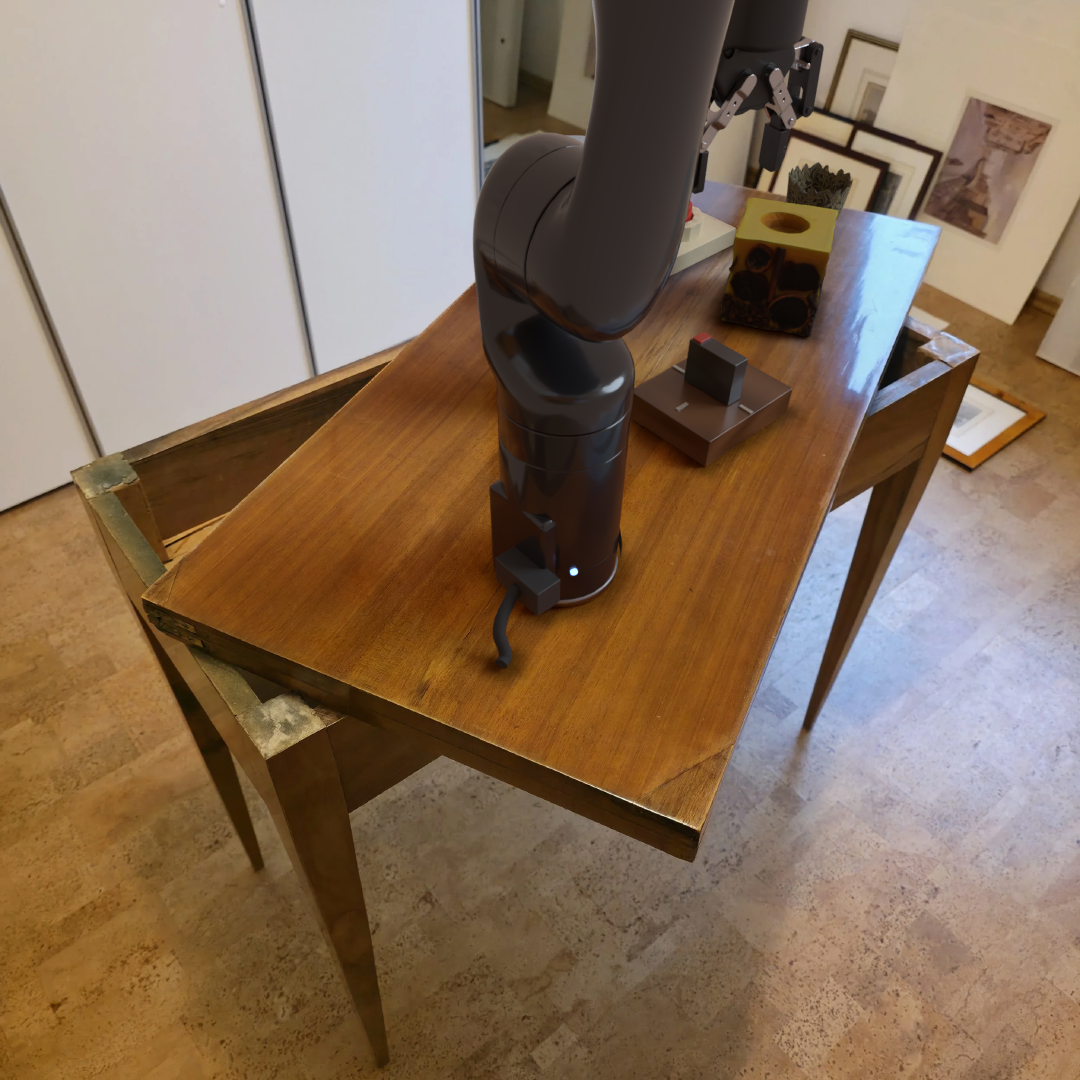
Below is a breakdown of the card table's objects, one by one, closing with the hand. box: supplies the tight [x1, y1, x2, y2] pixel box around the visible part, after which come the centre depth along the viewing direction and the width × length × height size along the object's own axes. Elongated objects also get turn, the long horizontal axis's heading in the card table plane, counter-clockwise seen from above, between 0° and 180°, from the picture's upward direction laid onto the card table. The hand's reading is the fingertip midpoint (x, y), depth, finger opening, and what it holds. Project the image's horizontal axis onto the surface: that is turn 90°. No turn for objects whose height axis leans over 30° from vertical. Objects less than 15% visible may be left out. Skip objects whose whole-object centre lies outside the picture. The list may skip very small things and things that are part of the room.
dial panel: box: [631, 357, 793, 468], centre depth 84 cm, size 12×10×3 cm
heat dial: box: [684, 331, 749, 406], centre depth 81 cm, size 6×2×5 cm, turn 41°
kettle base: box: [669, 205, 737, 277], centre depth 107 cm, size 12×10×4 cm
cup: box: [785, 161, 854, 222], centre depth 106 cm, size 8×7×8 cm
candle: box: [718, 196, 838, 338], centre depth 95 cm, size 10×10×10 cm
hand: (731, 178), depth 79 cm, fingers open, 8 cm apart
